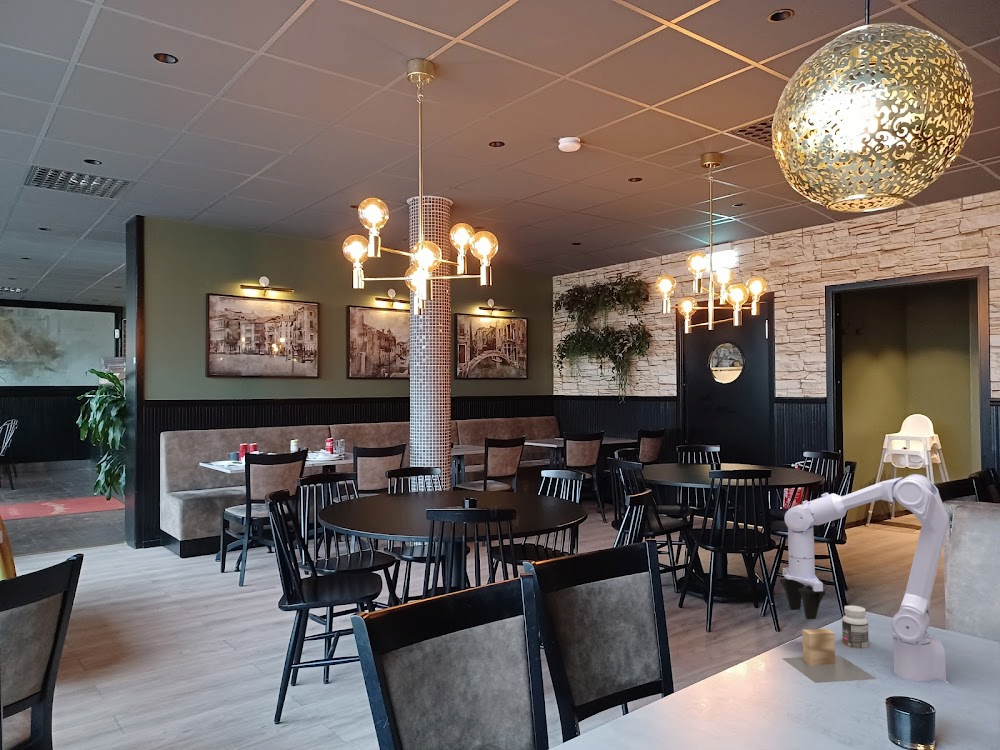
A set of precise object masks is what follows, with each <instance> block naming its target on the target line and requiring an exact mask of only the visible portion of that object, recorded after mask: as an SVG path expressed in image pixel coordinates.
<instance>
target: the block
mask: <svg viewBox="0 0 1000 750" xmlns="http://www.w3.org/2000/svg"><path fill="white" fill-rule="evenodd" d="M801 632H802V633H801V635H802V638H801V639H802V657H803V661H804V662H806V663H807V664H809V665H826V664H835V655H836V642H835V640H836V639H835V638H836V637H835V632H834V631H832V630H830V629H828V628H810V629H809V628H808V629H802V630H801Z"/></svg>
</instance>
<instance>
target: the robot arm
mask: <svg viewBox="0 0 1000 750" xmlns="http://www.w3.org/2000/svg"><path fill="white" fill-rule="evenodd" d="M820 495H821V497H819V498H818V497H817V498H816V499H812V500H810V501H808V500H807V499H806V500H804V501H802V503H801V504H797V505H795V506H792V507H791V508H789V509H788V510H787V511H786V512H785V514H784V523H785V525H786V527H787V545H788V547H787V549H788V550H787V553H788V555H787V556H788V567H782V576H783V577H784V578H781V579H779V581H780V584H781V586H782V588H783V589H784V590H783V591H784V592H785V594H786V598H787V601H788V606H789V609H790V610H791V611H798V610H799V611H800V610H801V605H802V604H803V609H804V616H805V619H806V620H816V618H817V616H818V611H819V607H820V604H821V602H822V599H823V597H824V596H825V595H826V589H824V583H823V582H822V581H821V580H819V578H818V577H817V575H816V565H815V560H816V559H815V537H814V526H820V525H823V524H826V523H830V522H833V521H835V520H839V519H841V518H844V517H845V516H846V514H847V511H848V510H850V509H854V508H857V507H860V506H863V505H866V504H870V503H873V502H877V501H880V500H882V501H885V502H889V503H895V502H896V501H897V502H898V504H900V505H901V506H902V507H904V508H905V509H907V510H908V511H909V512H911V513H912V514H913V515H914V516H915V518H916V519H917V520H918V521H919V522H920V524H921V527H920V530H919V531H920V532H919V535H918V539H917V543H916V547H915V553H914V556H913V559H912V564H911V569H910V572H909V577H908V580H907V584H906V589H905V593H904V596H903V597H902V601H901V604H900V608H899V610H898V612H897V613H895V614H894V615H893V617H892V618H891V626H890V627H891V629H892V631H893V633H892V646H893V647H892V648H893V649H892V651H893V652H892V653H893V673H894V675H895V676H897V677H900V678H902V679H905V680H907V681H915V682H929V681H933V680H934V681H935V680H941V681H942V682H945V683H946V684H948V685H949V684H950V683H949V682H948V681H947V670H946V669H947V667H946V665H947V664H946V658H947V657H946V651H945V648H944V646H943V644H942V643H941V641H940V640H939V639H937V637H932V636H930V634H929V633H928V631H927V629H929V628H930V626H931V623H932V617H931V613H930V605H931V597H932V593H933V588H934V585H935V581H936V576H937V574H938V573H937V572H938V569H939V565H940V562H941V561H940V560H941V556H942V552H943V549H944V544H945V540H946V536H947V533H948V532H947V531H948V529H949V524H950V518H949V515H948V513H947V510H946V508H945V505H944V503H943V501H942V498H941V495H940V492H939V488H937V487H936V485H935V484H934V483H933V482H932V481H931V480H930V479H929V478H928V477H927V476H924V475H922V474H916V473H915V474H909V475H908V476H906V477H904V478H903V476H900V477H896V478H895V477H894V478H890V479H887V480H883V481H880V482H877V483H874V484H872V485H869V486H867V487H863V488H861V489H859V490H856V491H854V492H851V493H847V494H845V495H839V494H836V493H834V492H833V493H830V494H829V492H824V493H823V494H820ZM805 586H806V587H805Z"/></svg>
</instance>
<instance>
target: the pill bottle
mask: <svg viewBox="0 0 1000 750" xmlns="http://www.w3.org/2000/svg"><path fill="white" fill-rule="evenodd" d="M843 610H844V611H843V612H844V614H845V615H843V616H842V619H841V628H842V629H841V630H842V637H841V638H842V639H841V640H842V645H843V646H846V647H849V648H854V649H867V648H869V645H870V643H869V621H868V619H867V618H866V614H867V613H866V611H867V610H866V608H865V607H863V606H859V605H845V606H844V609H843Z"/></svg>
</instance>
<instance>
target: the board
mask: <svg viewBox="0 0 1000 750" xmlns="http://www.w3.org/2000/svg"><path fill="white" fill-rule="evenodd" d="M781 659H782V660H784V661H785V662H786V663H787V664H789V665H790V666H792V667H793V668H795V669H796V670H797V671H798V672H800V673H801V674H803V676H805V677H807V678H808V679H810V680H811V681H812V682H813V683H815V684H818V683H819V684H820V683H832V682H833V683H834V682H835V683H836V682H849V681H852V682H853V681H867V680H877V679H878V678H877V677H876V676H874V675H872V674H870V673H869V672H867V671H865V670H864V669H862V668H860V666H857V665H856V664H854V663H853V662H851V661H850V660H848V659H847V658H845V657H843V656H841V654H835V664H826V665H809V664H807V663H806V662H804V661H803V656H801V657H800V656H799V657H798V656H797V657H783V658H781Z"/></svg>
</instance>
